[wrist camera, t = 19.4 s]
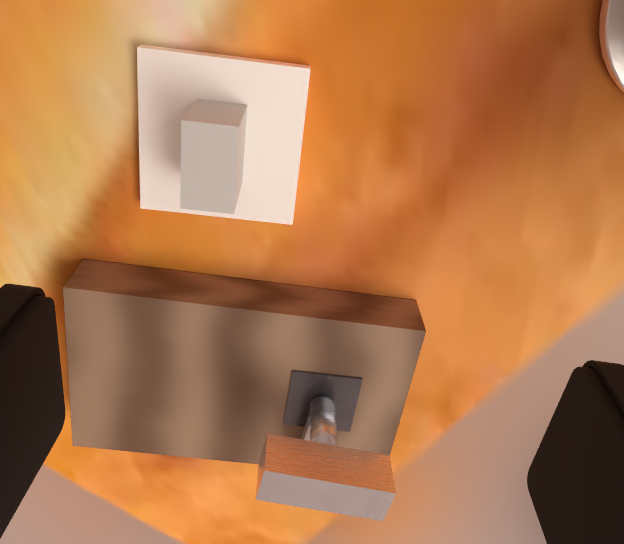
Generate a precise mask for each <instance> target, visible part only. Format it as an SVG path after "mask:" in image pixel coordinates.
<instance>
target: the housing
mask: <svg viewBox="0 0 624 544" xmlns="http://www.w3.org/2000/svg"><path fill="white" fill-rule="evenodd" d="M63 297H64V313H65V329H66V346H67V362H68V378H69V394H70V410H71V426H72V442H73V446H81V447H91V448H101V449H111V450H121V451H131V452H141V453H151V454H161V455H171V456H181V457H191V458H201V459H211V460H221V461H231V462H241V463H251V464H259V460H260V457H261V453H262V450H263V446H264V443H265V440H266V436H267V433H269V434H275V435H280V436H286V437H291V438H297V439H301V437H302V434H303V431H304V428H305V425H306V422H307V419H308V416H310V403H311V402H312V400H314V399H315V398H317V397H328V398H330V399H331V400H332V401H333V402H334V404H335V416H336V421H337V446H340V447H346V448H351V449H356V450H362V451H367V452H373V453H378V454H384V455H389V456H390V452H391V449H392V445H393V442H394V438H395V435H396V432H397V428H398V425H399V421H400V418H401V415H402V411H403V408H404V404H405V401H406V398H407V394H408V391H409V387H410V384H411V380H412V377H413V374H414V370H415V367H416V363H417V360H418V357H419V353H420V350H421V346H422V343H423V340H424V336H425V333H426V330H425V327H424V324H423V320H422V317H421V314H420V311H419V308H418V305H417V301H416V300H410V299H402V298H394V297H386V296H378V295H370V294H362V293H353V292H345V291H337V290H329V289H321V288H313V287H305V286H297V285H289V284H281V283H273V282H265V281H257V280H249V279H241V278H233V277H225V276H217V275H209V274H201V273H193V272H185V271H177V270H169V269H161V268H153V267H145V266H137V265H129V264H121V263H113V262H105V261H97V260H89V259H83V260H82V262H81V263H80V264H79V266H78V267H77V269H76V270H75V271H74V273H73V274H72V275H71V277H70V278H69V280H68V281H67V282H66V284H65V285H64V287H63Z"/></svg>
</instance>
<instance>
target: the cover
mask: <svg viewBox="0 0 624 544" xmlns="http://www.w3.org/2000/svg"><path fill="white" fill-rule="evenodd" d="M310 69H311V68H310V65H303V64H295V63H287V62H279V61H271V60H263V59H255V58H247V57H239V56H231V55H223V54H215V53H207V52H199V51H191V50H183V49H175V48H167V47H159V46H151V45H143V44H142V45H140V46H138V47H137V71H138V117H139V164H140V208H142V209H152V210H161V211H170V212H179V213H189V214H198V215H207V216H216V217H226V218H235V219H244V220H253V221H263V222H272V223H281V224H290V225H293V217H294V208H295V200H296V191H297V182H298V174H299V165H300V156H301V147H302V139H303V130H304V121H305V113H306V104H307V95H308V86H309V78H310Z"/></svg>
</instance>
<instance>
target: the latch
mask: <svg viewBox="0 0 624 544" xmlns="http://www.w3.org/2000/svg"><path fill="white" fill-rule="evenodd" d="M395 493H396V492H395V486H394V480H393V474H392V468H391V462H390V456H389V455H384V454H378V453H373V452H367V451H362V450H356V449H351V448H346V447H340V446H337V421H336V416H335V404H334V402H333V401H332V400H331V399H330V398H328V397H317V398H315V399H314V400H312V402H311V403H310V416H308V419H307V422H306V425H305V428H304V431H303V434H302V437H301V439H297V438H291V437H286V436H280V435H275V434H269V433H267V436H266V440H265V443H264V446H263V450H262V453H261V457H260V460H259V468H258V479H257V490H256V500H261V501H267V502H273V503H279V504H285V505H291V506H297V507H303V508H309V509H315V510H321V511H327V512H333V513H339V514H345V515H351V516H357V517H362V518H368V519H374V520H380V521H383V520H384V518H385V516H386V513H387V511H388V509H389V507H390V505H391V502H392V501H393V498H394V496H395Z"/></svg>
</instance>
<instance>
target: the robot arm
mask: <svg viewBox="0 0 624 544" xmlns="http://www.w3.org/2000/svg"><path fill="white" fill-rule="evenodd" d="M599 38H600V45H601V52H602V57H603V59H604V62H605V65H606V67H607V70H608V73H609V74H610V76H611V77H612V79H613V80H614V82H615V83H616V85H617V86H618V88H619V89H620V90H621V91H622V92H624V0H603V3H602V7H601V12H600V27H599ZM64 420H65V403H64V393H63V383H62V373H61V363H60V353H59V344H58V334H57V324H56V314H55V305H54V301H53V299H52V298H50V297H45V293H44V291H43V290H42V289H41V288H38V287H30V286H22V285H15V284H5V285H4V286H2V287H1V288H0V538H1V536H2V535H3V533H4V531H5V529H6V528H7V526H8V524H9V522H10V520H11V519H12V517H13V515H14V513H15V512H16V510H17V508H18V506H19V505H20V503H21V501H22V499H23V497H24V496H25V494H26V492H27V490H28V489H29V487H30V485H31V484H32V482H33V480H34V478H35V476H36V475H37V473H38V471H39V469H40V468H41V466H42V464H43V462H44V461H45V459H46V457H47V455H48V454H49V452H50V450H51V448H52V447H53V445H54V443H55V441H56V439H57V438H58V436H59V434H60V432H61V430H62V427H63V425H64ZM527 484H528V490H529V493H530V496H531V499H532V502H533V505H534V508H535V510H536V513H537V516H538V519H539V522H540V525H541V527H542V530H543V533H544V536H545V539H546V542H547V544H624V365H621V364H615V363H608V362H601V361H593V360H590V361H587V362H586V363H585V364H584V365H583V367H577V368H576V369H574V371H573V372H572V374H571V376H570V379H569V381H568V383H567V385H566V388H565V390H564V392H563V394H562V397H561V399H560V401H559V403H558V406H557V408H556V410H555V412H554V414H553V417H552V419H551V421H550V423H549V426H548V428H547V430H546V433H545V435H544V437H543V439H542V441H541V444H540V446H539V448H538V450H537V453H536V455H535V457H534V459H533V462H532V464H531V466H530V468H529V471H528V477H527Z"/></svg>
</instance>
